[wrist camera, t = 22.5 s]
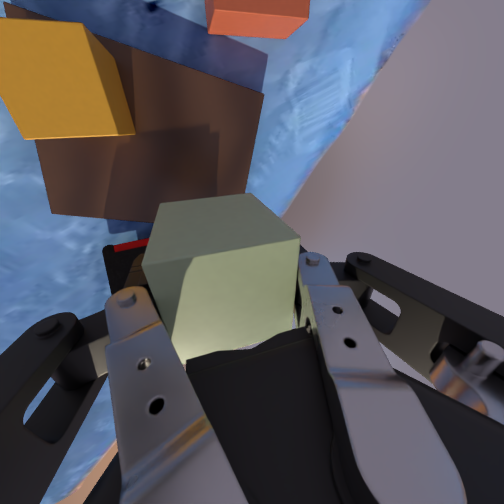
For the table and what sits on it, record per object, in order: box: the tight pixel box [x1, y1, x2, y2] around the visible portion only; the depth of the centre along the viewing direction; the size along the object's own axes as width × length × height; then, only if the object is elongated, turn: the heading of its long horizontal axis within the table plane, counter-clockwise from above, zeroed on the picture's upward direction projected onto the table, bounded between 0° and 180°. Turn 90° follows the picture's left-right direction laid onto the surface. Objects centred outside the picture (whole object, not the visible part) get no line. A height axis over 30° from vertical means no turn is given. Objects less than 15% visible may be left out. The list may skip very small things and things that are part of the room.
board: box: [3, 2, 264, 223], centre depth 19 cm, size 18×14×1 cm
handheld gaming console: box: [102, 238, 149, 295], centre depth 26 cm, size 9×12×10 cm
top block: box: [0, 17, 136, 140], centre depth 14 cm, size 5×5×6 cm
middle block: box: [141, 193, 301, 365], centre depth 10 cm, size 5×5×6 cm
